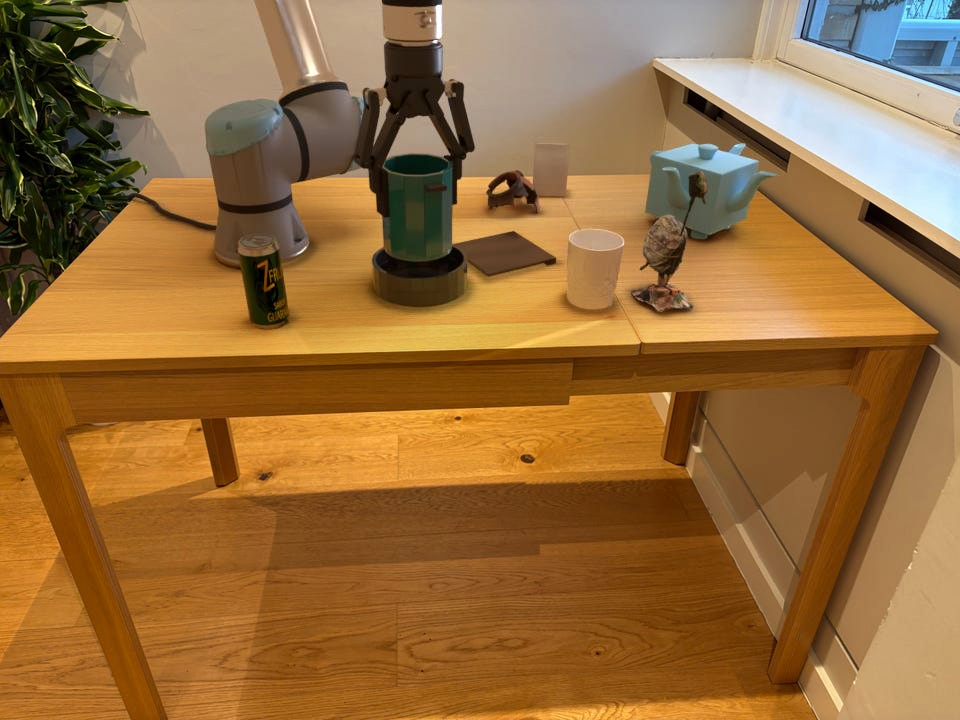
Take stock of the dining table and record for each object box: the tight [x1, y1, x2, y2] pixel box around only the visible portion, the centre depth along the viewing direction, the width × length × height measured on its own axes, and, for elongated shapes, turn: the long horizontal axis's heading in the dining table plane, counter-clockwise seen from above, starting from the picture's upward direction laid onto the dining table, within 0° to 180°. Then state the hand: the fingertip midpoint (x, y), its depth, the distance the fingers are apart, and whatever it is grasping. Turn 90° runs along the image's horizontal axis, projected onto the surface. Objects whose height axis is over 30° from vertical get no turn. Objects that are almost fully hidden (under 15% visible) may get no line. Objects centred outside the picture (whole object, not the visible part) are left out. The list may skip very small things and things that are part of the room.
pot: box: [381, 152, 454, 262], centre depth 104 cm, size 13×10×12 cm
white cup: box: [566, 228, 625, 310], centre depth 105 cm, size 8×8×10 cm
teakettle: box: [644, 142, 778, 240], centre depth 130 cm, size 19×19×15 cm
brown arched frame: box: [485, 169, 541, 214], centre depth 139 cm, size 12×10×8 cm
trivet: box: [452, 230, 557, 278], centre depth 120 cm, size 13×13×1 cm
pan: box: [371, 243, 469, 308], centre depth 109 cm, size 14×14×5 cm
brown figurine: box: [630, 171, 708, 313], centre depth 104 cm, size 8×11×20 cm
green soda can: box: [238, 234, 290, 330], centre depth 98 cm, size 5×5×12 cm
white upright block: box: [532, 142, 570, 198], centre depth 145 cm, size 4×7×10 cm, turn 86°
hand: (417, 207), depth 104 cm, fingers closed on pot, 10 cm apart
